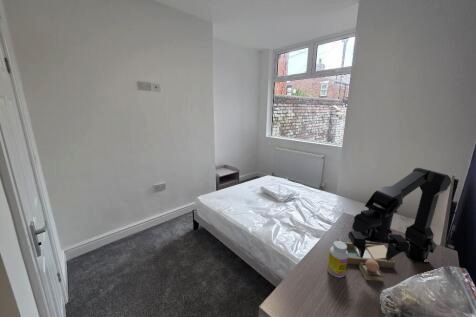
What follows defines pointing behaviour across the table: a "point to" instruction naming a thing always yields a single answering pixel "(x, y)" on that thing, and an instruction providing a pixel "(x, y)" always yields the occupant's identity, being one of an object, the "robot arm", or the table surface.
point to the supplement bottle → (338, 259)
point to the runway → (369, 255)
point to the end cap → (359, 230)
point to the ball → (372, 265)
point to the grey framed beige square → (370, 273)
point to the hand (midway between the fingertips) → (373, 258)
